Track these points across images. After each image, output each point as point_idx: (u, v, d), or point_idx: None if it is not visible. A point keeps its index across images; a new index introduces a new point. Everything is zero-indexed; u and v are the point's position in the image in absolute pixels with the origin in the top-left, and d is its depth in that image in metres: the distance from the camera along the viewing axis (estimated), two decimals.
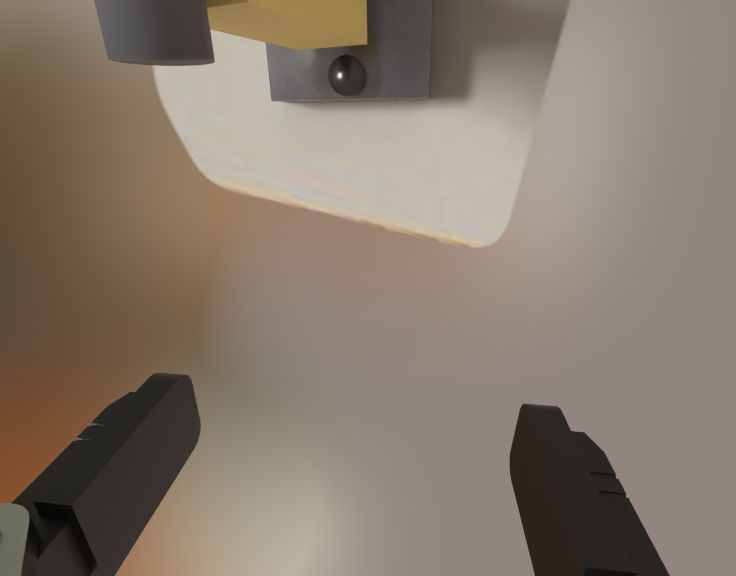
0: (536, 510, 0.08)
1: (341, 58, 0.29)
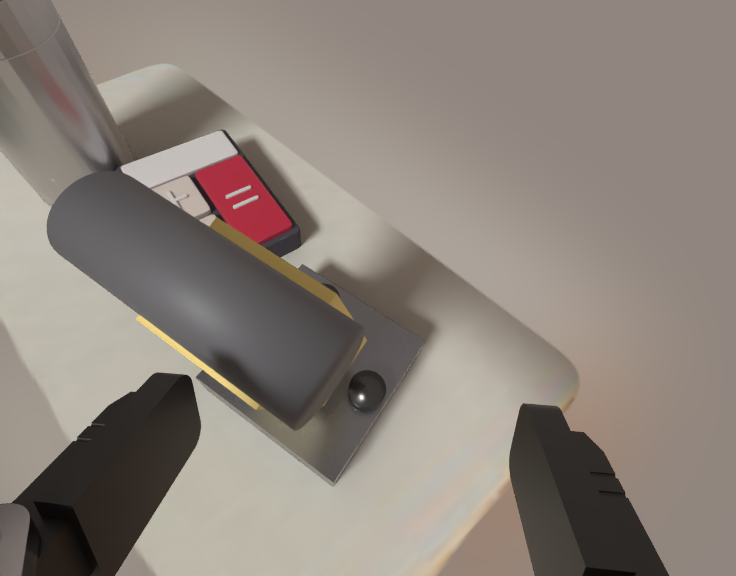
0: (536, 510, 0.08)
1: (352, 382, 0.28)
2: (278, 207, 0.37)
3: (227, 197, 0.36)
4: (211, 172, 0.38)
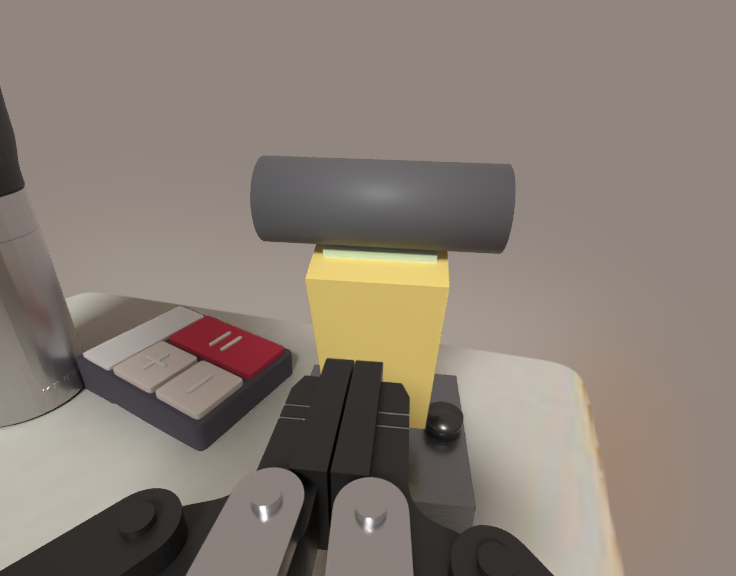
0: None
1: (428, 415, 0.28)
2: (264, 339, 0.38)
3: (211, 344, 0.36)
4: (185, 333, 0.38)
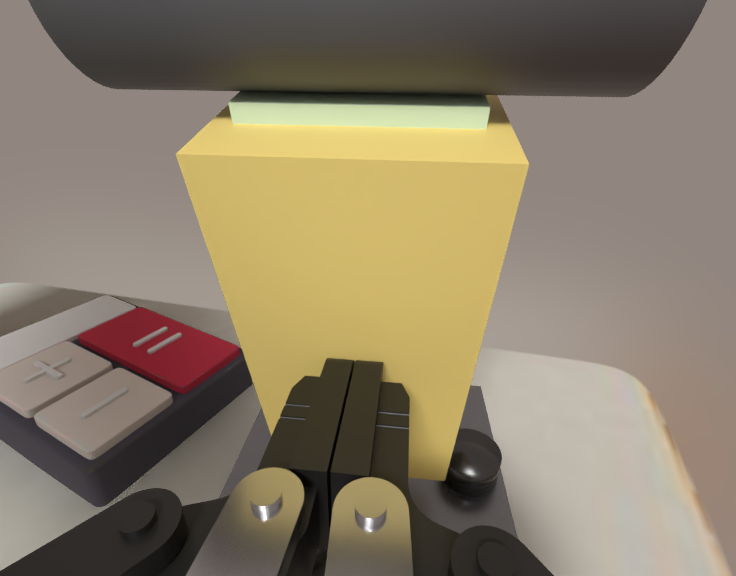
0: None
1: None
2: (212, 337, 0.28)
3: (135, 344, 0.26)
4: (103, 329, 0.28)
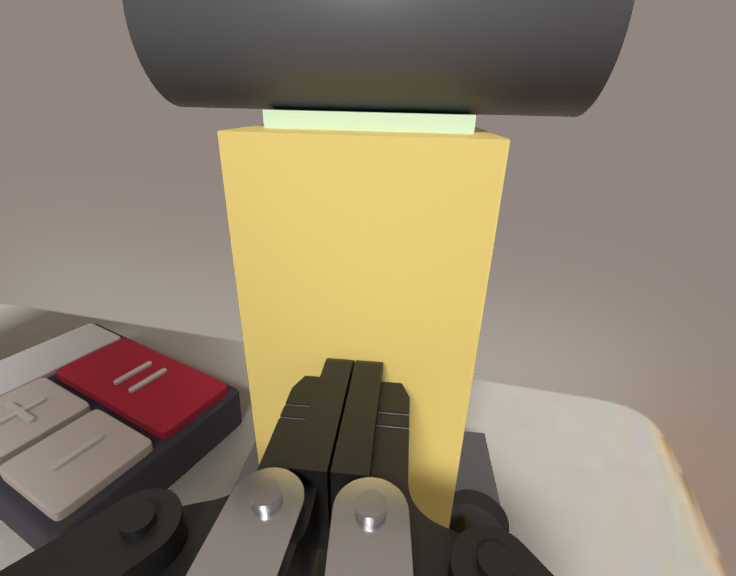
0: None
1: None
2: (199, 373, 0.26)
3: (116, 382, 0.24)
4: (83, 364, 0.26)
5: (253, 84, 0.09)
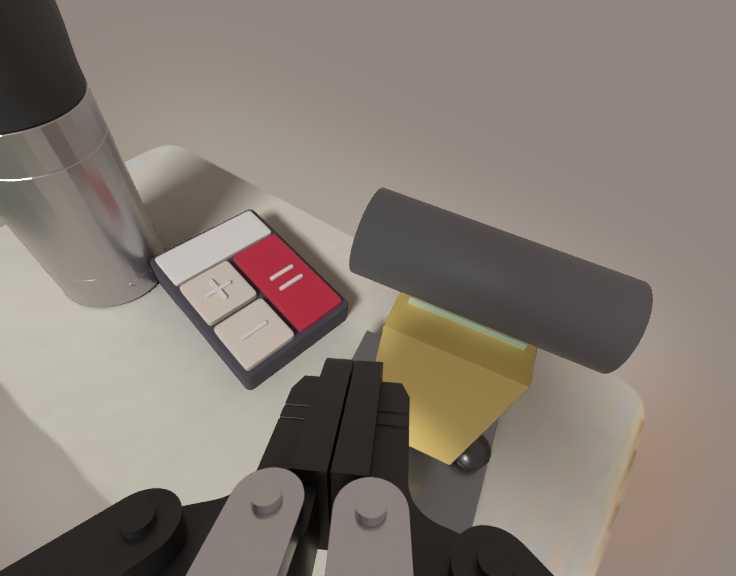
0: None
1: None
2: (324, 283, 0.36)
3: (271, 279, 0.36)
4: (250, 254, 0.37)
5: None
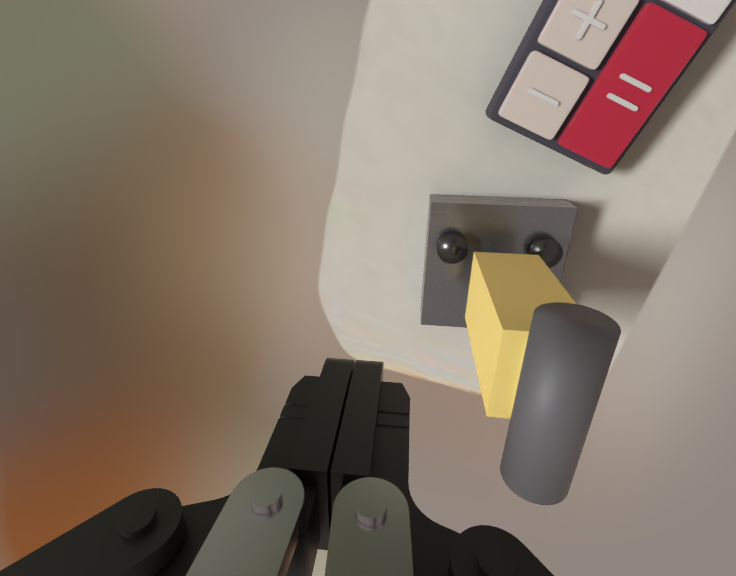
0: None
1: None
2: (629, 140, 0.31)
3: (620, 77, 0.29)
4: (658, 23, 0.27)
5: None
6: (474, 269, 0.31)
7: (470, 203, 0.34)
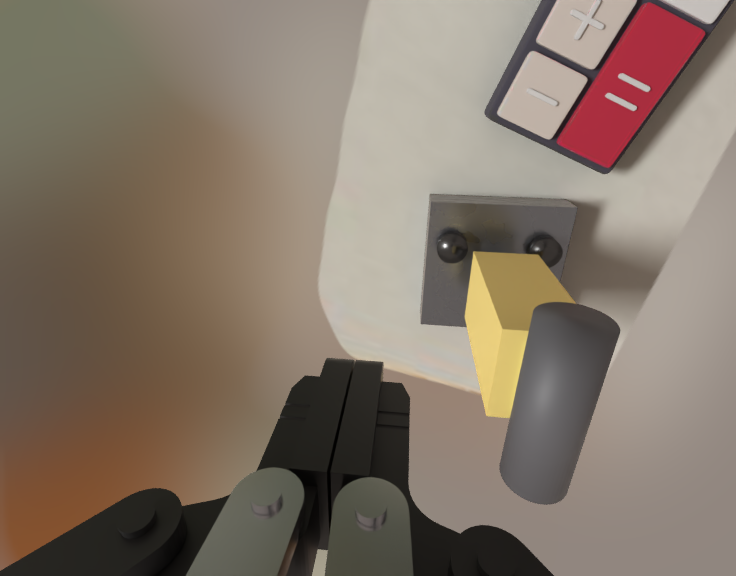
0: None
1: None
2: (628, 139, 0.31)
3: (619, 77, 0.29)
4: (656, 23, 0.27)
5: None
6: (474, 269, 0.31)
7: (470, 203, 0.34)
